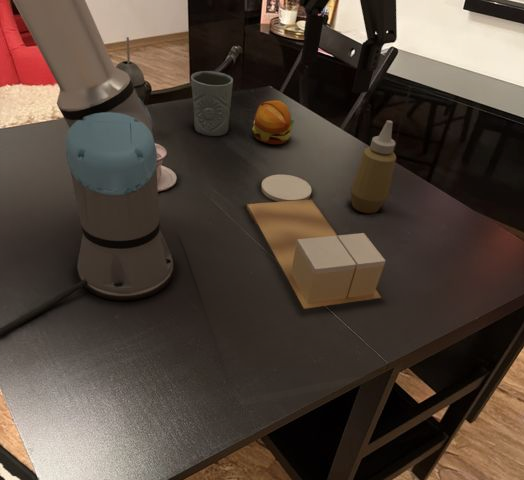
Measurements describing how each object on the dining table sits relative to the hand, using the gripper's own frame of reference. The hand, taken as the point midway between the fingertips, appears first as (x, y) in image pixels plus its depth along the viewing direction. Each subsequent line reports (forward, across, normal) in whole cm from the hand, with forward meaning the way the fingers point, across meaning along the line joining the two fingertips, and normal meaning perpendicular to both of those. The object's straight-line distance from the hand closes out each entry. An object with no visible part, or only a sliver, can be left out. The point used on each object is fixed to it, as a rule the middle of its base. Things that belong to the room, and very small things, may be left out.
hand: (332, 76), depth 77 cm
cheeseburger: (+27, +36, -15) cm, 48 cm away
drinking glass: (+27, +46, -3) cm, 54 cm away
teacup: (+28, +28, +22) cm, 44 cm away
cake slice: (+26, -20, +4) cm, 33 cm away
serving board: (+27, -8, +5) cm, 29 cm away
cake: (+26, -18, +10) cm, 33 cm away
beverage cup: (+28, +50, +16) cm, 59 cm away
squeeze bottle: (+27, 0, -17) cm, 32 cm away
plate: (+27, +13, -4) cm, 30 cm away
